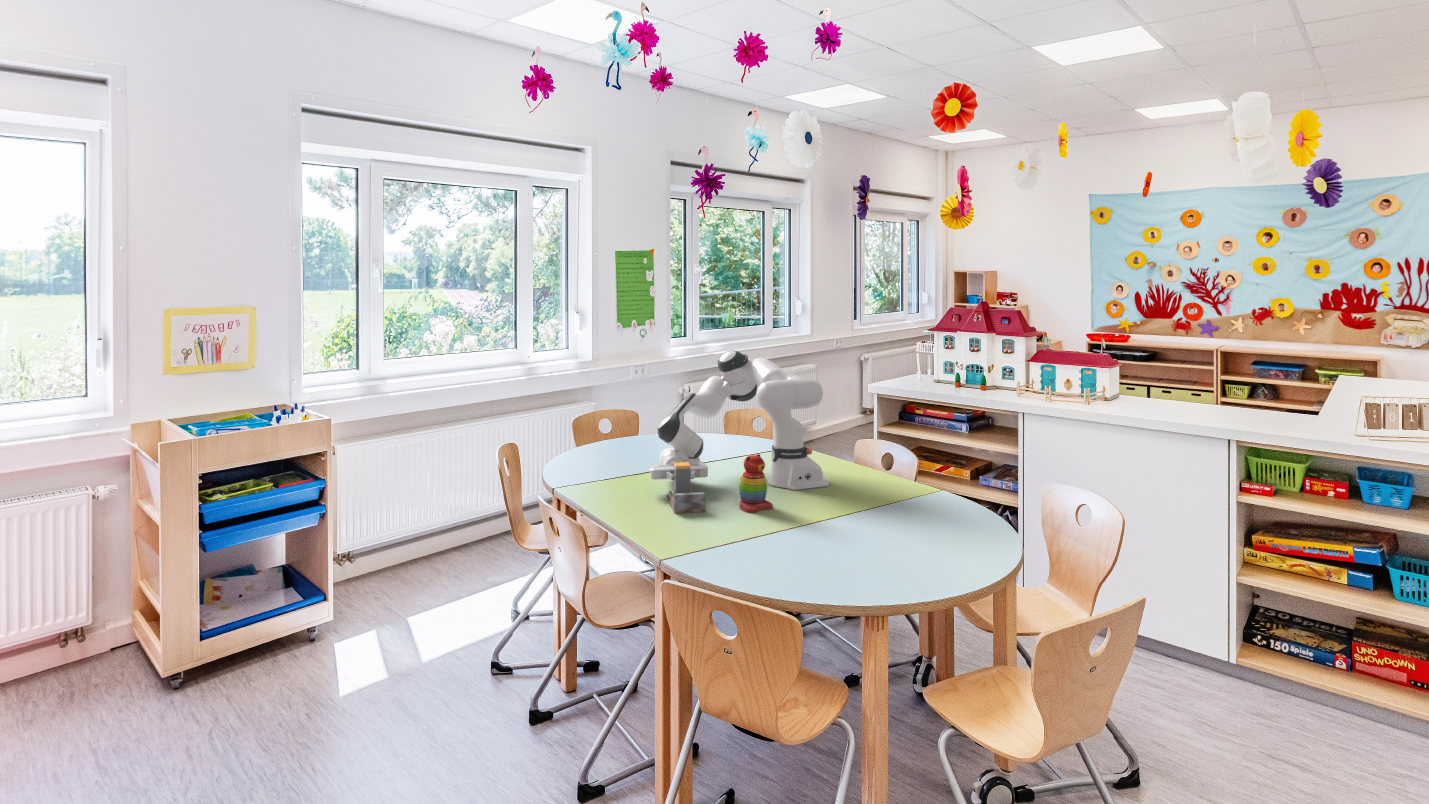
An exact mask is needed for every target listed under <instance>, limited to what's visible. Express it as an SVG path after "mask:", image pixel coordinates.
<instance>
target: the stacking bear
mask: <svg viewBox="0 0 1429 804" xmlns="http://www.w3.org/2000/svg"><path fill="white" fill-rule="evenodd" d="M743 467H744V470H745V471H744V472H743V473H742V474H741V476H740V481H739V484H738V490H739V491H738V492H739V495H740V496H739V497H740V502H739V505H738V507H739V508H740V510H742V511H744V512H745V513H750V514H751V513H752V514H754V513H757V512H758V511H762V510H763V511H764V510H771V509H773V507H774V505H773V503H772V502H770V501H769V500H766V498H767V493H768V484H767V483H768V482H767V478H766V475H765V473H764V470H765V468H766V463H765V461H764V459H763V457H761V454H760V453H758V454H751V455H748V456H746V457H745V459H744V461H743Z"/></svg>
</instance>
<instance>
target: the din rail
mask: <svg viewBox="0 0 1429 804" xmlns="http://www.w3.org/2000/svg"><path fill="white" fill-rule="evenodd" d="M665 498H666V500H667V502H668V503H669V505H670V507H671V509H672V511H673V513H674V514H687V513H702V512H704V513H705V512H706V511H705V510H706V509H705V508H706V507H705V505H706V500H705V499H706V493H705V492H703V491H701V492H695V491H694V490H693V489H690V493H676V494H674V492H673V491H672V490H668V492H667V494H666V495H665Z"/></svg>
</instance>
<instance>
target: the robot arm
mask: <svg viewBox="0 0 1429 804" xmlns="http://www.w3.org/2000/svg"><path fill="white" fill-rule="evenodd" d="M717 367H718V370H719V371H720V373H721V376H717V375H712V376H710V377H709V378H707V379H706V380H705V381H704V383H703V384H702V385H701V387H700V388H699V390H698V391H697V393H695V392H692V393H690V394H688V395H687V396H685V397H684V398H683V400H681V401H680V403H678V405H677V406H676V407H675V408H674V409H673V410H672V412H670V414H668V415H667V417H665V418H664V419H663V420H662V421H660V423H659V424H658V427H657V434H658V438H659V439H660V440H662V441H663V442H664V443H665V444H668V446H669V447H666V448H664V449H662V450H661V453H660V455H659V463H660V464H653V465H651V466H650V467H648V468H647V472H648V473H650V478H651V480H670V481H674V480H675V474H674V462H688V463H689V464H690V480H694V479H695V478H696V479H697V478H700V479H701V478H707V477H708V475H709V468H708V467H709V466H707V464H705V463H704V461H701V459H700V456H701V455H702V453H703V451H704V439H703V438H702V437H701V436H700V435H698V433H696V432H695V431H694V430H693V429H692V428H690V427H689V426H688V425H687V424H686V423H685V422H684V421H683V419H682V418H683V417H684V416H685V415H686V413H690V414H692V415H693V414H694V415H695V416H697V417H700V418H703V419H710V418H713V417H716V416H717V415H718V414H719V413H720V411H721V410H722V409H723V406H724V405H725V404H724V403H725V401H726V399H727V398H729V400H731V401H736V402H748V401H751V400H752V399H753V398H755V399H756V401H757V405H758V406H759V407H760V408H761V409H762V410H764V411H765V412H766V413H767V414H768V416H769V418H770V420H771V422H772V423H771V424H772V430H773V431H772V433H773V434H772V435H773V436H772V437H773V438H772V439H773V440H772V442H773V443H772V445H771V462H772V463H771V469H770V473H769V478H768V480H767V483H768V484H769V485H770V486H773V487H777V488H783V489H788V490H791V491H792V490H793V491H795V490H806V489H813V488H823V487H829V485H830V483H829V482H830V481H829V480H828V479H827V478H826V477H824V474H823V469H822V467H821V466H820V464H819V463H817V462H816V461H815V460H813V459H812V458H811V457H810V456H809V455H812V454H813V450H812V449H811V448H808V447H806V446H805V445H804V437H805V436H804V431H805V428H804V426H803V423H802V422H801V421H799V420H798V419H796V418H794V417H793V416H792V413H791V412H792V410H804V409H809V408H810V409H811V408H813V407H816V406H819V405H820V404H821V402H822V400H823V398H824V397H823V396H824V391H823V387H822V385H821V383H820V382H819V381H817V380H814V379H810V378H806V377H802V376H800V375H796V374H794V373H791V372H789V371H786V370H784V369H783V368H782V367H780V366H779V365H778V364H776V363H774V362H773V361H771V360H770V359H767V358H765V357H757V358H754V359H752V360H749V357H748V354H743V353H742V352H740V351H738V350H728V351H726V352H725V351H724V352H723V353H722V354H721V355H720V356H719V357H718V359H717Z"/></svg>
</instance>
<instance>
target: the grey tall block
mask: <svg viewBox="0 0 1429 804" xmlns="http://www.w3.org/2000/svg"><path fill="white" fill-rule="evenodd" d="M674 474H675V480H673V494H676V493H690V490H691V479H690V464H689V463H688V462H674Z"/></svg>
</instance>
